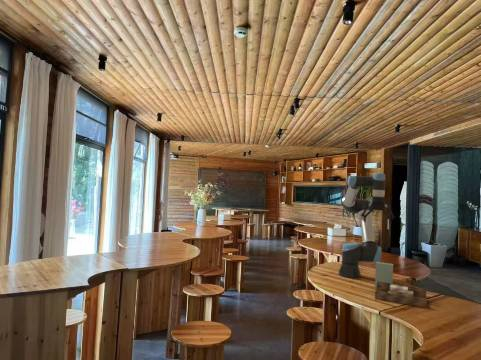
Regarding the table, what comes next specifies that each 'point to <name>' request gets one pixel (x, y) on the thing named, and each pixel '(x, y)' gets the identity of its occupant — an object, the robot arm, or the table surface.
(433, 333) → the table surface
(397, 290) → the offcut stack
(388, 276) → the grey-green flat block
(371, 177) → the robot arm
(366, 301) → the table surface
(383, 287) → the rack
